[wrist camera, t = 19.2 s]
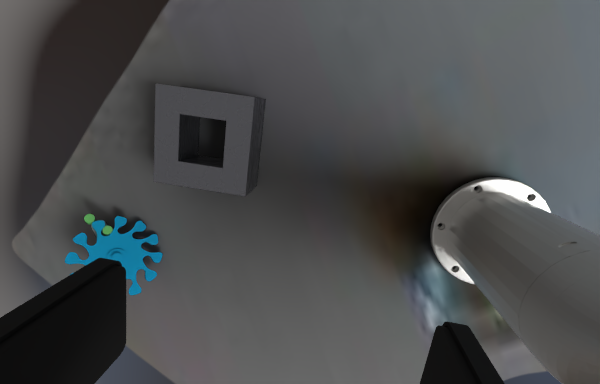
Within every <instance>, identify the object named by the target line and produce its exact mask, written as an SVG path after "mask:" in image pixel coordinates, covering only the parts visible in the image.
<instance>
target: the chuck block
mask: <svg viewBox="0 0 600 384" xmlns="http://www.w3.org/2000/svg"><path fill="white" fill-rule="evenodd" d="M265 100H266V99H262V98H257V97H251V96H244V95H236V94H229V93H222V92H215V91H207V90H200V89H193V88H186V87H178V86H171V85H164V84H157V83H155V135H154V182H159V183H165V184H171V185H178V186H184V187H190V188H196V189H202V190H209V191H215V192H221V193H227V194H233V195H240V196H246V195H247V194H248V193H249V192H251V191H252V190H253V189H254V188H255V187H256V186H257V178H258V168H259V159H260V149H261V139H262V129H263V120H264V110H265ZM200 117H204V118H211V119H218V120H225V121H226V133H225V146H224V159H220V158H214V157H207V156H201V155H198V147H199V128H200Z"/></svg>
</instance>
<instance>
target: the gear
mask: <svg viewBox="0 0 600 384" xmlns="http://www.w3.org/2000/svg"><path fill="white" fill-rule="evenodd" d="M84 220H85V222H86V223H87V224H92V225H91V228H92V230H93V232H94V234H95V236H96V238H97V243H96V244H95V245H93V246H89V245H88V244H87V236H86V234H85V233H80V234H78V235H77V236H75V237H74V238H73V241H74V242H75V243H76V244H79V245H82V246H83V247H85V248H86V249H87V251H88V253H89V257H88V259H86V260H81V259H80V258H79V256H78V255H77V254H76V253H74V252H69V254H68V255H67V257H66V259H65V263H67V264H77V263H78V264H84V265H88V264H89V263H91V262H92V261H94V260H96V259H98V258H106V259H111V260H116V261H120V262H121V264H122V267H124V268H125V269H126V279H131V280H132V282H133V283H132V286H131V287H130V289H129V294H130V295H136V294H139V293H141V287H140V286H139V285H138V284H137V281H136V273H137V271H138V270H139V269H143V270H144V271H145V279H146V280H147V281H151V280H153V279H154V278H155V277H156V276H157V273H156V272H155V271H153V270H150V269H148V268H147V267H146V266H145V264H144V262H143V258H144V257H145V256H150V257H151V259H152V261H153V262H155V263H159V262H160V261H161V259H162V255H163V254H162V253H161V252H156V253H150V252H147V251H145V250H143V249H142V248H141V245H142V243H144V242H147V243H149V244H151V245H156V244H157V243H158V237H157V234H152V235H150V236H149V237H147V238H145V239H134V238H133V237H132V234H133V233H134V232H142V231H144V230H145V229H146V226H145V224H144V223H143V222H142V221H138V222H136V224H135V226H134V227H133V229H132V230H130V231H129V232H127V233H125V234H119V233H118V231H117V230H118V228H120V227H122V226H124V225H125V224H126V222H127V219H126V218H124V217H121V216H117V217H116V218H115V227H114V229H112V227H111V226H108V225H107V223H106V222H105V221H104V220H100V219H99V220H95V217H94V215H92V214H87V215H86V216H85V217H84ZM72 274H73V273H72ZM70 275H71V274H70Z"/></svg>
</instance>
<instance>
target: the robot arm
mask: <svg viewBox="0 0 600 384" xmlns="http://www.w3.org/2000/svg"><path fill="white" fill-rule="evenodd" d="M476 186H477V188H476V189H475V190H474V188H475V187H476ZM528 195H529V196H528ZM527 196H528V197H527ZM439 223H441V225H439V226H437V225H438V224H439ZM430 238H431V245H432V248H433V251H434V254H435V255H436V257H437V259H438V260H439V262H440V263H441V264H442V266H443V267H444V268H445V269H446V270H447V271H448V272H449V273H450V274H451V275H453V276H455V277H456V278H458V279H460V280H462V281H465V282H468V283H470V284H476V286H477V287H478V288H479V289H480V291H481V292H482V293H483V294H484V295H485V297H486V298H487V299H488V300H489V302H490V303H491V304H492V305H493V306H494V308H495V309H496V310H497V311H498V312H499V314H500V315H501V316H502V317H503V319H504V320H505V321H506V322H507V323H508V325H509V326H510V327H511V328H512V330H513V331H514V332H515V333H516V334H517V336H518V337H519V338H520V339H521V341H522V342H523V343H524V344H525V345H526V347H527V348H528V349H529V350H530V352H531V353H532V354H533V355H534V356H535V357H536V358H537V360H538V361H539V362H540V363H541V364H542V365H543V367H544V368H545V369H546V370H547V371H548V372H549V373H551V375H553V376H554V377H555V378H556V379H557V380H558V381H560V382H561V383H563V384H600V235H598V234H595V233H593V232H591V231H589V230H587V229H585V228H582V227H580V226H578V225H576V224H574V223H572V222H569V221H567V220H565V219H563V218H561V217H559V216H556V215H554V214H552V213H551V210H550V208H549V206H548V205H547V203H546V201H545V200H544V199H543V198H542V196H541V195H540V194H539V193H538V192H536V191H535V190H534V189H532V188H531V187H530V186H527V185H525V184H523V183H521V182H518V181H515V180H512V179H508V178H501V177H488V178H482V179H477V180H474V181H471V182H469V183H466V184H464V185H462V186H461V187H459V188H457V189H456V190H454V191H453V192H452V193H451V194H450V195H448V196H447V197H446V198H445V199H444V201H443V202H442V203H441V204H440V206H439V207H438V209H437V211H436V213H435V215H434V217H433V221H432V224H431V231H430ZM453 266H454V267H453ZM125 344H126V269H125V268H124V267H122V264H121V262H120V261H116V260H111V259H106V258H98V259H96V260H94V261H92V262H91V263H89V264H88V265H86V266H84V267H83V268H81V269H79V270H78V271H76V272H74V273H73V274H71V275H70V276H68V277H66V278H65V279H63V280H61V281H60V282H58V283H56V284H55V285H53V286H51V287H50V288H48V289H47V290H45V291H44V292H42V293H40V294H38V295H37V296H35V297H34V298H32V299H30V300H29V301H27V302H25V303H24V304H22V305H20V306H19V307H17V308H15V309H14V310H12V311H11V312H9V313H7V314H6V315H4V316H3V317H1V318H0V384H94V383H95V382H96V381H97V380H98V379H99V378H100V377H101V376H102V375H103V373H104V372H105V371H106V370H107V369H108V368H109V367H110V366H111V364H112V363H113V362H114V361H115V360H116V359H117V358H118V357H119V356H120V354H121V352H122V351H123V349H124V347H125ZM420 384H504V382H503V380H502V379H501V377H500V376H499V374H498V373H497V371H496V369H495V368H494V366H493V365H492V363H491V361H490V360H489V358H488V357H487V355H486V353H485V352H484V350H483V349H482V347H481V345H480V344H479V342H478V341H477V339H476V337H475V336H474V334H473V333H472V331H471V329H470V328H469V327H468V326H467V325H462V324H457V323H452V322H444V324H443V325H442V326H437V327H436V330H435V333H434V336H433V340H432V343H431V347H430V350H429V354H428V357H427V361H426V364H425V368H424V371H423V374H422V378H421V381H420Z"/></svg>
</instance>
